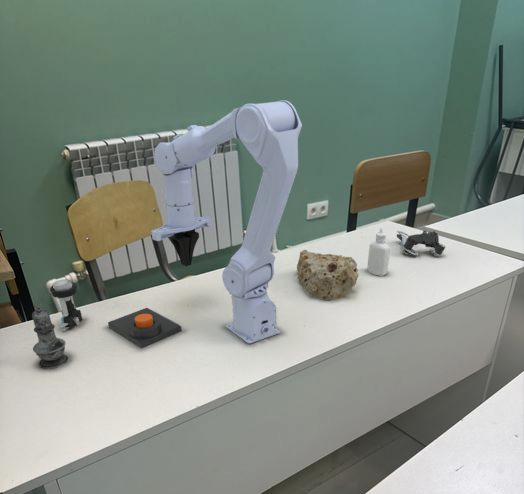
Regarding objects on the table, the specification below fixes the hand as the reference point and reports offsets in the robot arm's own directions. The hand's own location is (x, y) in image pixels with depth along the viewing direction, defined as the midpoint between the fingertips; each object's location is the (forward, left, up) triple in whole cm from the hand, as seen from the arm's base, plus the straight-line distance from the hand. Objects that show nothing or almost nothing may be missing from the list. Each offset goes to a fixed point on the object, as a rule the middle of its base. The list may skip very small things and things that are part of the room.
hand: (186, 264), depth 108 cm
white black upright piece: (+7, +26, -11) cm, 29 cm away
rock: (-10, -34, -11) cm, 37 cm away
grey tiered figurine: (-6, +33, -11) cm, 35 cm away
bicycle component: (-7, -73, -11) cm, 74 cm away
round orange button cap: (-8, +14, -8) cm, 18 cm away
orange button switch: (-4, +14, -10) cm, 18 cm away
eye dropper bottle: (-12, -50, -11) cm, 53 cm away
